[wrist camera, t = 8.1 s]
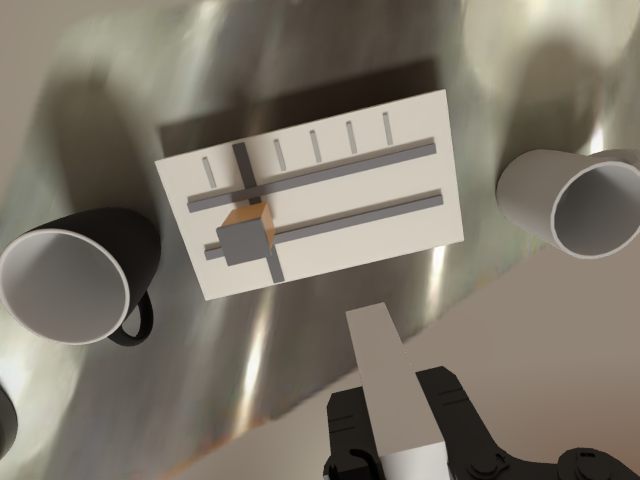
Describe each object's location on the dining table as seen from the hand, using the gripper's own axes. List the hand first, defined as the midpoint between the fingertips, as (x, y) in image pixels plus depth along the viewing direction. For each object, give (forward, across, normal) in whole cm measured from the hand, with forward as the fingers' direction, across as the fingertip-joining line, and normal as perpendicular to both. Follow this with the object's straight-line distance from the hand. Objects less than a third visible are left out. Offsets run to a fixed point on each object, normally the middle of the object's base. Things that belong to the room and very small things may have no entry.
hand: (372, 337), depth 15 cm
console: (+22, -1, +1) cm, 22 cm away
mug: (+23, -19, 0) cm, 30 cm away
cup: (+22, +20, -3) cm, 30 cm away
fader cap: (+19, -7, +1) cm, 20 cm away
